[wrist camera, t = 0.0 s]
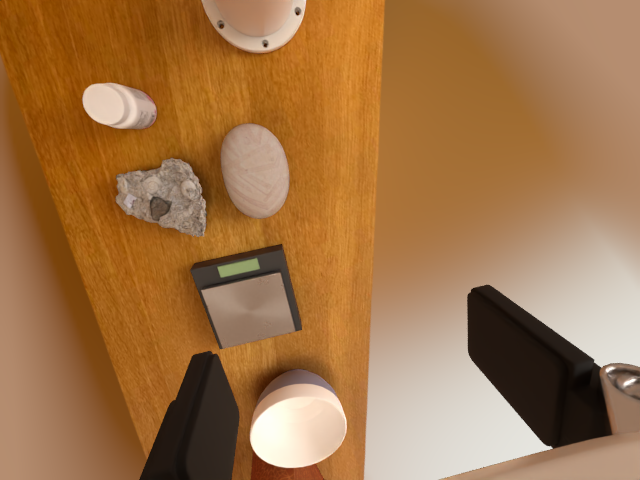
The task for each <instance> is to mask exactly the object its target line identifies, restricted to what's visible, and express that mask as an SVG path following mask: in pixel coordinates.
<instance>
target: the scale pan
mask: <svg viewBox="0 0 640 480" xmlns="http://www.w3.org/2000/svg"><path fill="white" fill-rule="evenodd" d="M201 291H202V294H203V297H204V300H205V302H206V305H207V308H208V310H209V313H210V316H211V318H212V321H213V324H214V326H215V329H216V332H217V335H218V337H219V340H220V343H221V345H222V348H223V349H224V348H228V347H233V346H237V345H241V344H245V343H249V342H254V341H258V340H262V339H266V338H270V337H275V336H279V335H283V334H287V333H291V332H295V326H294V322H293V318H292V314H291V310H290V306H289V302H288V299H287V295H286V291H285V287H284V283H283V279H282V275H281V271H275V272H271V273H267V274H262V275H258V276H253V277H249V278H244V279H240V280H235V281H231V282H227V283H222V284H218V285H213V286H209V287H204V288H202V290H201Z"/></svg>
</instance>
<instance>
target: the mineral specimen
mask: <svg viewBox="0 0 640 480" xmlns="http://www.w3.org/2000/svg"><path fill="white" fill-rule="evenodd" d="M116 179H117V180H118V184H117V188H118V191H119V194H118V196H116V197H115V198H116V203H117V204H118V205H120V206H121V208H122V209H123V210H124V211H125V212H126V214H127V215H134V216H136V218H139V219H144V220H145V221H147V222H151V223H152V222H153V223H158V224H159V225H160V226H161V227H163V228H175V229H178V231H179V232H181V233H186V234H190V235H192V236H193V237H194V235H196V236H197V237H199V236H204V231H205V227H206V224H205V223H206V216H207V213H206V210H205V208H206V205H205V204H206V202H205V200H204V199H203V197H202V196H201V193H202V187H201V185H200V184H199V179H198V177H196V176H195V175H194V172H193V171H192V168H191V167H190V165H189V164H188V163H185V162H183V161H182V160H180V159H173V158H171V159H169V160H163V163H162V165H161V167H160V168H158V169H156V170H154V169H153V170H148V171H140V170H138V171H133V172H128V174H127V173H126V174H118V175H117V176H116Z"/></svg>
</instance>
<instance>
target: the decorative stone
mask: <svg viewBox="0 0 640 480" xmlns="http://www.w3.org/2000/svg"><path fill="white" fill-rule="evenodd" d="M221 168H222V174H223V179H224V183H225V186H226V189H227V192H228V194H229V197H230V198H231V200H232V202H233V203H234V205H235V206H236V207H237V208H238V209H239V210H240V211H241V212H242V213H243V214H245V215H247V216H249V217H252V218H258V219H261V218H267V217H270V216H272V215H274V214H275V213H276V212H277V211H279V209H280V208H281V207H282V206H283V204H284V202H285V200H286V198H287V194H288V190H289V168H288V163H287V159H286V155H285V153H284V150H283V148H282V146H281V144H280V142H279V141H278V139H277V138H276V137H275V136H274V135H273V134H272V133H271V132H270V131H269V130H268V129H266V128H264V127H263V126H260V125H257V124H251V123H248V124H241V125H238V126H236V127H234V128H233V129H232V130H231V131H230V132H229V133H228V134H227V135H226V137H225V139H224V141H223V144H222V148H221Z"/></svg>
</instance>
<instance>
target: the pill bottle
mask: <svg viewBox="0 0 640 480" xmlns="http://www.w3.org/2000/svg"><path fill="white" fill-rule="evenodd" d="M82 100H83V106H84V108H85V110H86V112H87V114H88V115H89V116H90V117H91V118H92V119H94V120H95V121H97V122H99V123H101V124H105V125H108V126H110V127H113V128H119V129H144V128H148V127H150V126H151V125H152V124H153V123H154V122H155V120H156V116H157V111H156V106H155V104H154V102H153V100H152V99H151V98H150V97H149V96H148V95H147V94H146V93H144V92H142V91H140V90H137V89H134V88H130V87H127V86H123V85H120V84H116V83H104V84H93V85H90V86H89V87H88V88H87V89H86V90H85V91H84V94H83V99H82Z"/></svg>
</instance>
